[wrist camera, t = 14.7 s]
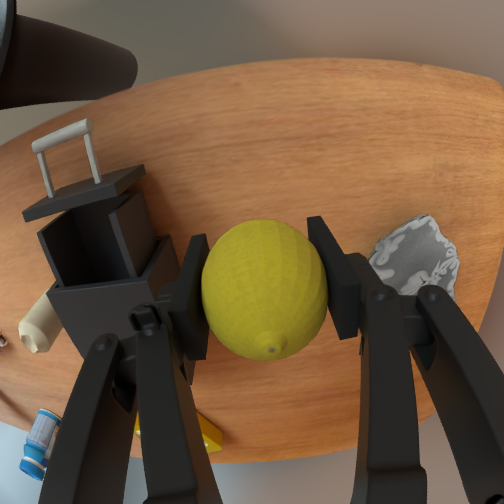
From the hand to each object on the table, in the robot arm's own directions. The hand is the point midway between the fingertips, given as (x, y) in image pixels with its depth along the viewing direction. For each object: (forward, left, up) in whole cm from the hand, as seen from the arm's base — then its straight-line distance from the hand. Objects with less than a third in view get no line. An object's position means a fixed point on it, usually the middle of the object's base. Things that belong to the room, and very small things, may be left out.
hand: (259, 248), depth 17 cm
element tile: (+46, -23, -17) cm, 54 cm away
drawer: (0, -17, -15) cm, 23 cm away
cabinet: (+12, -17, -16) cm, 26 cm away
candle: (+12, -32, -17) cm, 38 cm away
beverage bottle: (+49, -62, -17) cm, 81 cm away
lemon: (0, 0, -1) cm, 1 cm away
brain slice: (+16, +18, -17) cm, 30 cm away
